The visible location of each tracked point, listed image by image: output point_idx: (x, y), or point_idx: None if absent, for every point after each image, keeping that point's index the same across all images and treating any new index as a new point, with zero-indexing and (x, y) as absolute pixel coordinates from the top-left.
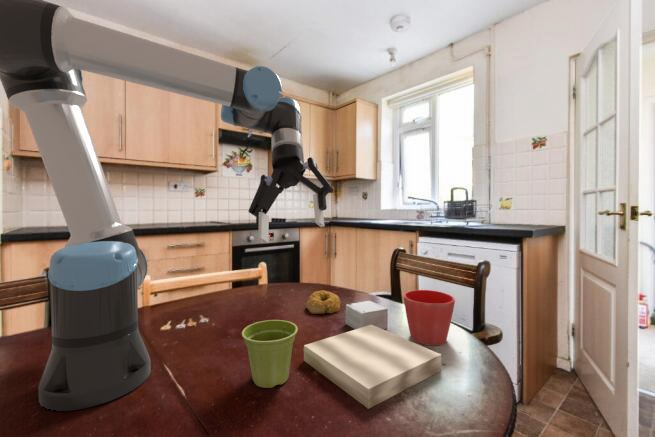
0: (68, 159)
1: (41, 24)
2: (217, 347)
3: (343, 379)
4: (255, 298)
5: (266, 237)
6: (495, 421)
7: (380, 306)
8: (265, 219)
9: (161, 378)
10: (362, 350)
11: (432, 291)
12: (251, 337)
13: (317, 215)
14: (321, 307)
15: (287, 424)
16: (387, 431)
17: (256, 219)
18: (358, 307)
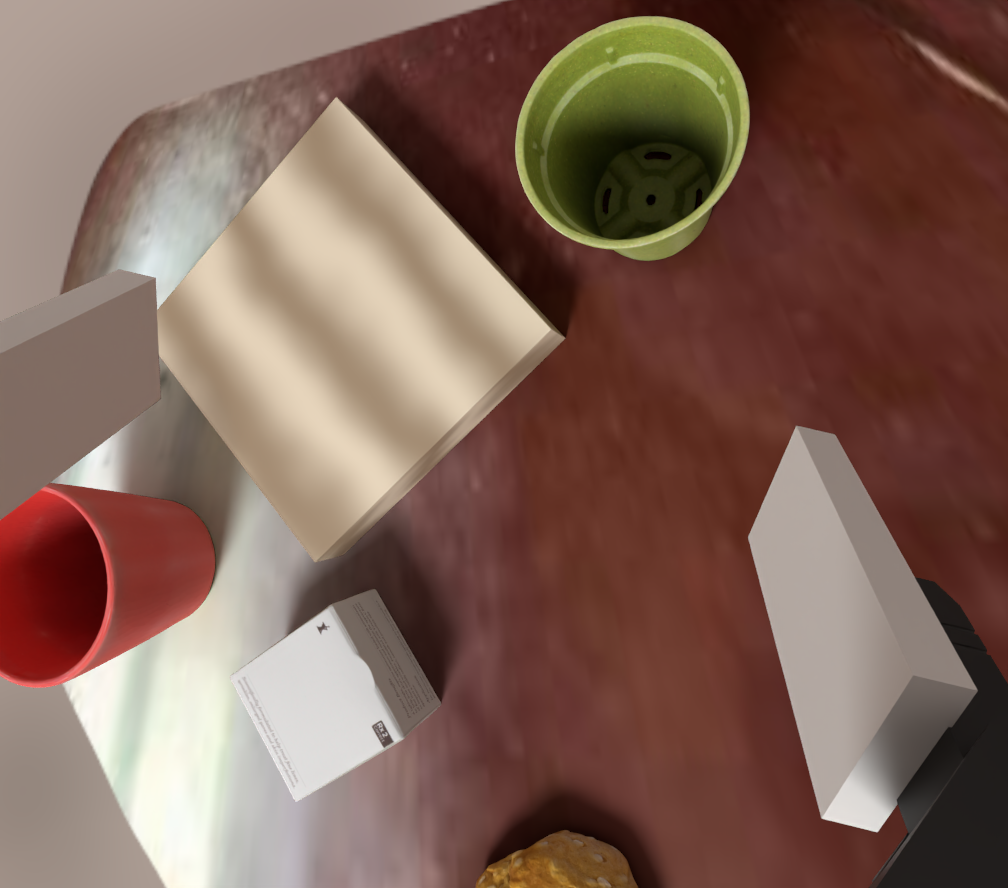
0: None
1: None
2: (984, 402)
3: (411, 175)
4: None
5: (770, 529)
6: (127, 144)
7: (254, 706)
8: (832, 677)
9: None
10: (348, 320)
11: (3, 669)
12: (724, 162)
13: (81, 293)
14: (553, 846)
15: (547, 11)
16: (327, 54)
17: (996, 675)
18: (344, 686)
